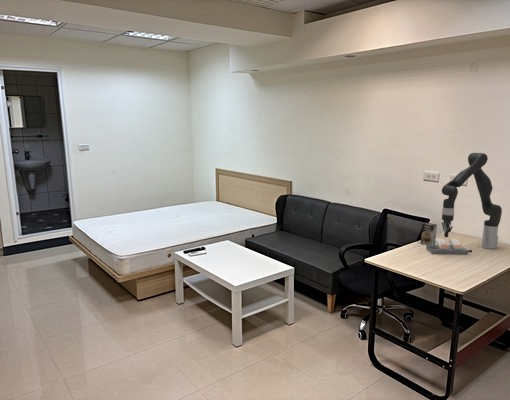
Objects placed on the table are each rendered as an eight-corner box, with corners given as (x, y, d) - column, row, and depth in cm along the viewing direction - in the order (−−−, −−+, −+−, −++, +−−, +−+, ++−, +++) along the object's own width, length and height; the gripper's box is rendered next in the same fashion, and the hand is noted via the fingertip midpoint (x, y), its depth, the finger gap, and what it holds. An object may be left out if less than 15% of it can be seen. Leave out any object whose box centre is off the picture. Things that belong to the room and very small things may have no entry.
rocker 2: (457, 241, 286) (457, 239, 285) (462, 249, 277) (463, 246, 276) (448, 241, 286) (449, 239, 285) (454, 249, 277) (454, 246, 276)
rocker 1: (443, 241, 286) (443, 239, 285) (448, 249, 278) (449, 246, 277) (434, 241, 287) (435, 238, 286) (439, 249, 278) (440, 246, 277)
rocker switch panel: (467, 249, 287) (468, 244, 287) (475, 254, 276) (476, 249, 275) (426, 248, 289) (426, 243, 289) (432, 254, 278) (432, 248, 277)
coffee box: (420, 243, 302) (421, 223, 299) (423, 241, 306) (425, 222, 303) (432, 246, 295) (433, 225, 292) (435, 244, 300) (437, 224, 296)
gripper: (457, 215, 267) (455, 239, 271) (449, 211, 280) (447, 234, 283) (446, 216, 268) (444, 239, 271) (438, 211, 280) (437, 234, 284)
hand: (446, 236), depth 277 cm, fingers closed
